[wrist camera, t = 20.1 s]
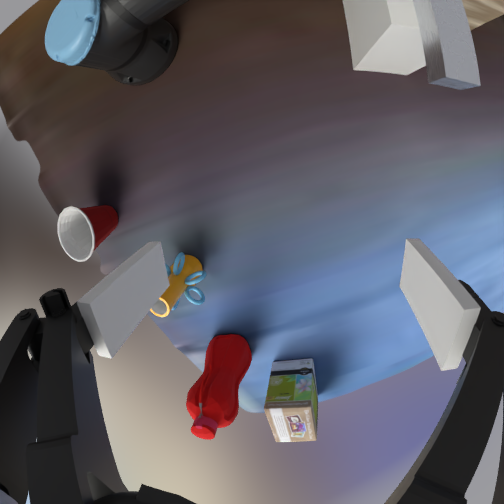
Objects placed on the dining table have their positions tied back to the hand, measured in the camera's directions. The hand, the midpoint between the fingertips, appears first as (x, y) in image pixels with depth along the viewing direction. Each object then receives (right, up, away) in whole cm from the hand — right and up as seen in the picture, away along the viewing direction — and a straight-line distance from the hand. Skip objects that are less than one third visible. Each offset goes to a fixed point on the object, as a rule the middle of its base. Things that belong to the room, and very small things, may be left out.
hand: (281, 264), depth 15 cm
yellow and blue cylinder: (-14, -2, +44) cm, 46 cm away
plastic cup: (-33, +8, +43) cm, 55 cm away
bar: (+16, +30, 0) cm, 34 cm away
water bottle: (-6, -21, +50) cm, 55 cm away
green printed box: (+9, -31, +52) cm, 61 cm away
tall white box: (+20, +39, +21) cm, 48 cm away
